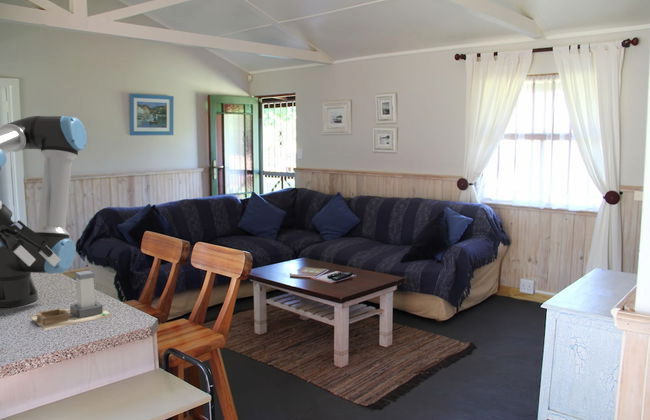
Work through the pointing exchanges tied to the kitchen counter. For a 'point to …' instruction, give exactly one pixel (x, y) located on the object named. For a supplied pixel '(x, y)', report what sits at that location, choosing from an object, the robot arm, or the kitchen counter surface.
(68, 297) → the kitchen counter surface
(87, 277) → the plug
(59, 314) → the holster
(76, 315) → the port
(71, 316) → the board
